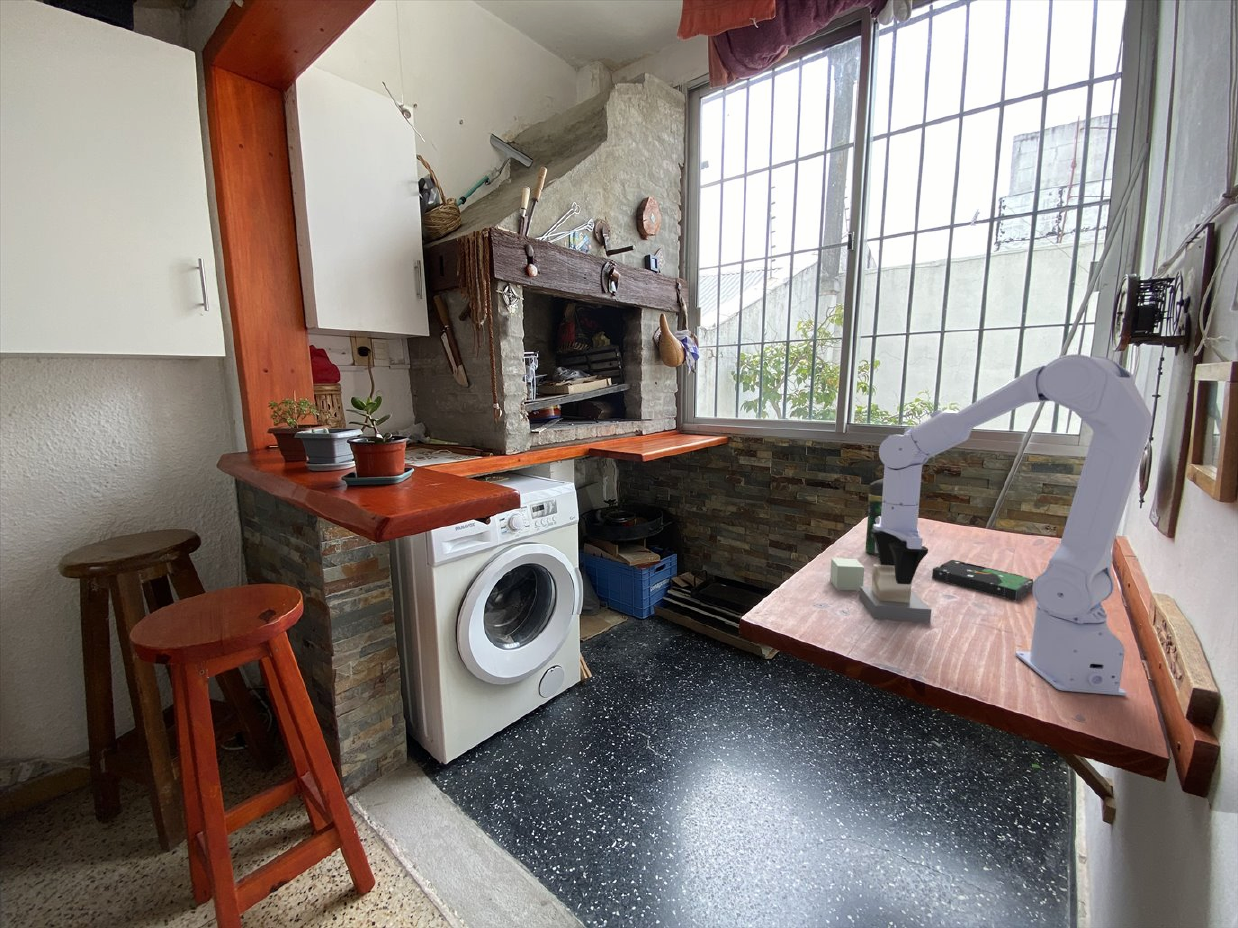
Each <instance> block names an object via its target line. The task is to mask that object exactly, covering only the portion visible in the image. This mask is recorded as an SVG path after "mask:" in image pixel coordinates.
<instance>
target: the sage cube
mask: <svg viewBox="0 0 1238 928" xmlns="http://www.w3.org/2000/svg"><path fill="white" fill-rule="evenodd" d="M830 559H831V561H830V575H829V576H830V577H829V580H831V581H830V582H831V584H832V585H833V584H834V585H833V587H834V588H835V590H843V591H857V592H858V591H859V592H860V586H864V577H865V566H864V565H863V564H862V563H861V562H860V561H859V560H858V559H857V558H838V557H837V558H836V557H831V558H830Z"/></svg>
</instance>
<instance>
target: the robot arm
mask: <svg viewBox="0 0 1238 928" xmlns="http://www.w3.org/2000/svg"><path fill="white" fill-rule="evenodd" d="M1042 402H1053V403H1055V404H1058V405H1059V406H1062V407H1064V408H1066V409H1068V410H1070V411H1072V412H1074V414H1076V415H1077V416H1078V417H1079V418H1080V419H1081V420H1082V421H1083V422H1084V423H1085V424H1086V425H1087V426H1089V428H1090V429H1091V430H1092V432H1093V433H1092V435H1091V436H1092V437H1091V440H1090V443H1089V445H1088V446H1089V447H1088V450H1087V453H1086V457H1085V459H1084V463H1083V465H1082V466H1083V467H1082V470H1081V473H1080V477H1079V480H1078V482H1077V487H1076V490H1075V493H1074V496H1073V499H1072V503H1071V506H1070V509H1069V512H1068V516H1067V520H1066V524H1065V526H1064V529H1063V533H1062V537H1061V540H1060V542H1059V544H1058V546H1057V548H1056V549H1055V551H1054V552H1053V554H1052V555H1051V557H1050V558H1049V561H1048V564H1047V567H1046V569H1044V571H1043V572H1042V573H1041V574H1039V575H1037V577H1036V578H1035V579H1034V580H1033V582H1034V583H1033V587H1032V590H1031V591H1032V595H1033V597H1034V599H1035V601H1036V604H1035V612H1034V620H1033V621H1034V623H1033V629H1032V637H1031V645H1030V651H1020V650H1016V651H1015V653H1014V655H1016V657H1017V658H1019V659H1020V660H1021V661H1023V663H1025V665H1027V666H1029V667H1030V668H1031V669H1032V670H1034V671H1035V672H1036V673H1037V674H1038V675H1039V676H1041V677H1042V678H1043V679H1044V680H1046V682H1048V683H1049V684H1050V685H1051V686H1053V687H1054V688H1055V689H1056V690H1059V691H1062V692H1063V691H1065V692H1073V693H1074V692H1075V693H1086V694H1087V693H1089V694H1100V695H1101V694H1102V695H1113V696H1127V691H1126V690H1125V689H1123V688H1121V687H1120V686H1121V680H1122V672H1123V665H1124V659H1125V647H1124V645H1123V643H1122V641H1121V639H1120V638H1118V637H1117V636H1116V635H1115V634H1114V633H1113V632H1112V631H1111V630H1110V629H1109V626H1108V622H1107V619H1108V618H1107V617H1108V614H1107V613H1106V610H1105V609H1104V607H1103V605H1102V602H1104V601H1106V600H1108V599H1109V598H1110V597H1111V596H1112V594H1113V593H1114V589H1115V583H1114V578H1113V576H1112V572H1111V571H1112V570H1111V568H1112V565H1113V561H1114V559H1113V554H1112V548H1113V545H1114V542H1115V539H1116V536H1117V533H1118V530H1119V527H1120V523H1121V520H1122V517H1123V514H1124V512H1125V509H1126V506H1127V502H1128V500H1129V496H1130V493H1131V491H1132V487H1133V484H1134V481H1135V478H1136V474H1137V473H1138V469H1139V466H1140V462H1141V460H1142V456H1143V453H1144V450H1145V447H1146V444H1147V441H1148V438H1149V435H1150V432H1151V428H1152V426H1153V416H1152V414H1151V412H1150V410H1149V408H1148V406H1147V404H1146V402H1145V401H1144V399H1143V397H1142V395H1141V393H1140V391H1139V389H1138V387H1137V386H1136V383H1135V378H1134V375H1133V374H1132V372H1130V371H1129V370H1128V369H1126V368H1124V367H1123V366H1122V365H1121V364H1119V363H1118V362H1116V361H1114V360H1113V359H1111V358H1108V357H1104V356H1089V355H1084V354H1079V353H1078V354H1077V353H1073V354H1066V355H1062V356H1059V357H1057V358H1055V359H1053V360H1051V361H1050V362H1049V363H1048V364H1046V365H1040V366H1038V367H1035V368H1033V369H1030V370H1029V371H1026V372H1025V373H1023V374H1021V375H1020V376H1018V377H1016V378H1014V379H1012V380H1011V381H1009V382H1007V383H1006V384H1004V385H1002V386H1001V387H999V388H997V389H995V390H993V391H992V392H991V393H989V394H987V395H985V396H983V397H982V398H980V399H978V400H977V401H975V402H973V403H972V404H970V405H968V406H965V408H963V409H961V410H960V411H957V410H952V409H945V410H940V409H939V410H935V411H932V412H931V413H929V416H930V417H929V418H928V419H926V420H924V421H922V422H921V423H919V424H916V425H915V426H913V425H912V426H908V427H906V428H904V433H903V434H892V435H891V434H890V435H888V436H887V437H886V438H885V439H883V441H882V442H881V444H880V446H879V448H878V457H879V459H880V461H881V462H882V464H883V465H884V470H883V478H884V481H883V496H882V511H881V516H878V524H874V525H873V528H874V529H872V530H871V533H872V535H873V537H874V540H875V542H876V546H877V550H878V555H879V556H878V560H879V561H878V562H879V565H890V566H895V577H896V582H897V583H898V584H911V582H912V583H913V580H914V577H915V574H916V571H917V569H918V566H919V565H920V563H921V562H922V560H923V559H924V558H925V557H926V555H928V553H929V548H928V547H927V546H925V545H924V546H923V537H921V536H920V529H919V527H918V524H919V523H918V520H919V510H920V498H921V484H922V483H921V482H922V471H923V470H922V469H923V466H924V464H926V463H927V462H928V460H929V459H930V458H932V457H934V456H936V455H938V454H941V453H943V452H944V451H947V450H949V449H951V448H953V447H955V446H957V445H959V444H962V443H963V442H966V441H967V440H969V438H970V435H971V432H972V430H973V428H976V427H978V426H980V425H982V424H985V423H987V422H989V421H991V420H993V419H997V418H998V417H1000V416H1003V415H1004V414H1007V413H1009V412H1012V411H1014V410H1016V409H1018V408H1021V407H1022V406H1024V405H1027V404H1030V403H1042ZM901 542H902V543H901Z"/></svg>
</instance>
